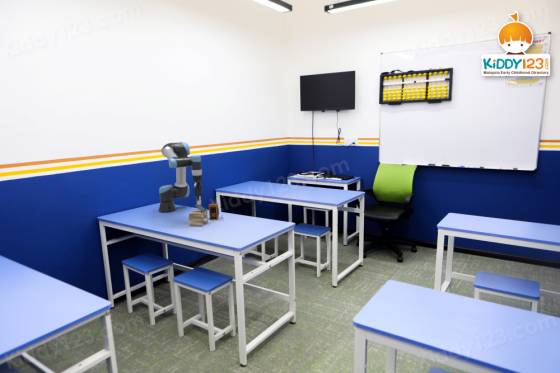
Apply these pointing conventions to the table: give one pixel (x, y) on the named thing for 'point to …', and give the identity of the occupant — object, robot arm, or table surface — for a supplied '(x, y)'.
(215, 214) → the multimeter
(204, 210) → the keeper flap
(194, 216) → the hitch block
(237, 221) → the table surface
